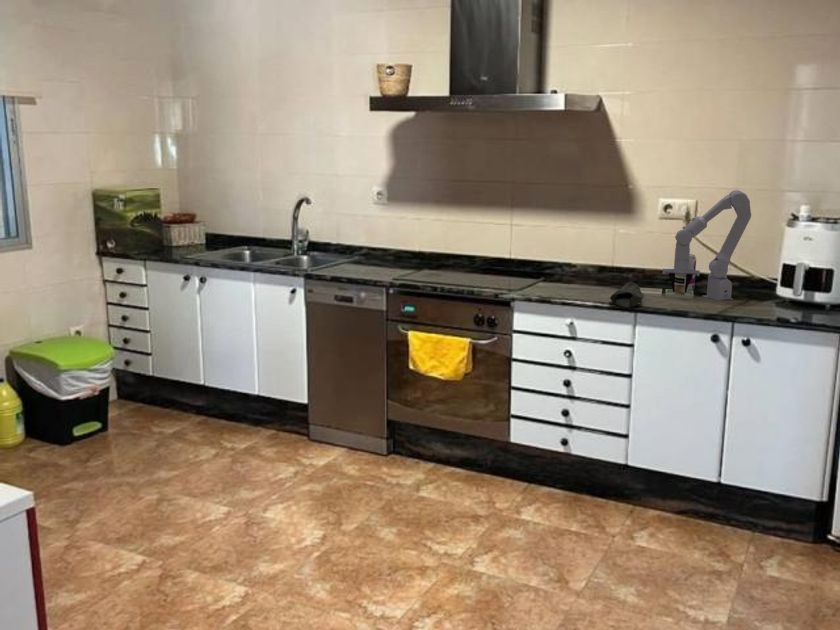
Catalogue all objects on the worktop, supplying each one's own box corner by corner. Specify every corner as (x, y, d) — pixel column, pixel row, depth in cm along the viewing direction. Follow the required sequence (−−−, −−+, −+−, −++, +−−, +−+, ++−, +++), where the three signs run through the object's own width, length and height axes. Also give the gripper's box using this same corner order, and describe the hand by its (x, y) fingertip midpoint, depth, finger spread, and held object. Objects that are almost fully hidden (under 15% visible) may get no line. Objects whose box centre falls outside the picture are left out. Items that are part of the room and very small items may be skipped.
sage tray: (692, 294, 345) (693, 290, 344) (693, 300, 334) (693, 295, 334) (665, 293, 348) (665, 289, 347) (665, 298, 337) (665, 294, 337)
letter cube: (684, 294, 342) (684, 284, 341) (684, 296, 338) (685, 286, 338) (674, 294, 343) (674, 284, 342) (674, 295, 340) (674, 286, 339)
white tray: (661, 293, 348) (662, 288, 348) (661, 298, 338) (661, 293, 337) (634, 291, 351) (635, 287, 351) (633, 296, 341) (633, 292, 341)
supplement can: (693, 288, 359) (696, 254, 356) (694, 291, 351) (697, 256, 348) (674, 287, 361) (676, 253, 358) (674, 290, 353) (676, 256, 350)
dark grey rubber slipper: (640, 309, 317) (650, 296, 340) (639, 291, 316) (650, 278, 338) (606, 309, 323) (618, 296, 345) (605, 291, 321) (617, 279, 343)
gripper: (663, 259, 336) (661, 292, 339) (700, 261, 332) (698, 294, 335) (663, 257, 342) (661, 289, 345) (700, 259, 338) (697, 291, 341)
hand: (679, 291), depth 341 cm, fingers closed on letter cube, 4 cm apart
